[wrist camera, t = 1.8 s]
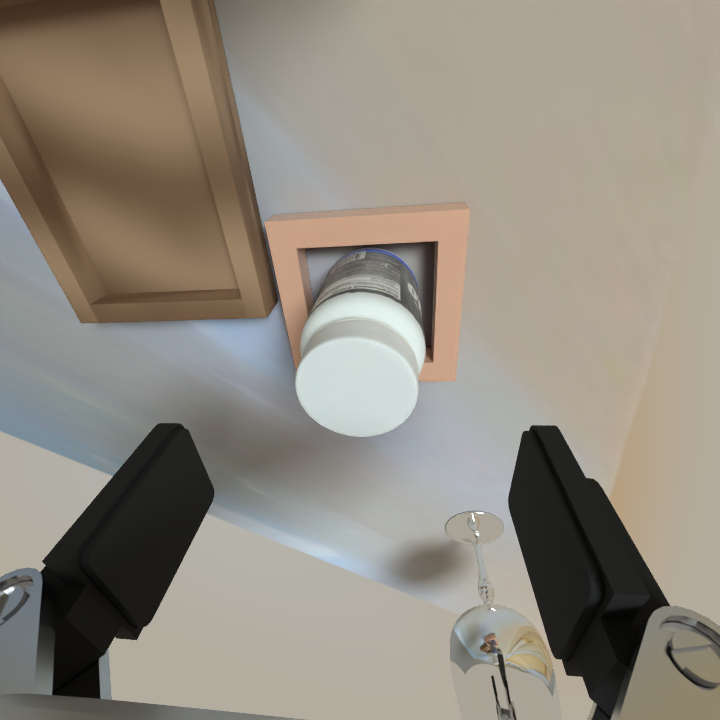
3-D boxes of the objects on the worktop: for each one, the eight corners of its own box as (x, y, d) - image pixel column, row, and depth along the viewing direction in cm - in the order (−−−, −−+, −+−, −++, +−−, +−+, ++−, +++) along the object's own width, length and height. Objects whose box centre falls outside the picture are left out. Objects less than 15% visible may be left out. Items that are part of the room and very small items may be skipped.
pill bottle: (413, 335, 20) (420, 452, 13) (327, 328, 20) (288, 440, 13) (424, 247, 17) (442, 334, 10) (325, 241, 17) (275, 322, 10)
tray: (-55, -17, 13) (-121, -38, 12) (200, -59, 12) (169, -88, 10) (107, 306, 20) (81, 323, 19) (278, 300, 19) (267, 317, 17)
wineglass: (439, 504, 27) (463, 723, 17) (518, 507, 27) (590, 737, 17) (435, 546, 30) (453, 752, 20) (506, 549, 30) (560, 764, 20)
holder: (274, 214, 17) (264, 221, 15) (464, 202, 16) (469, 209, 14) (304, 367, 21) (298, 382, 20) (452, 365, 20) (455, 381, 19)
